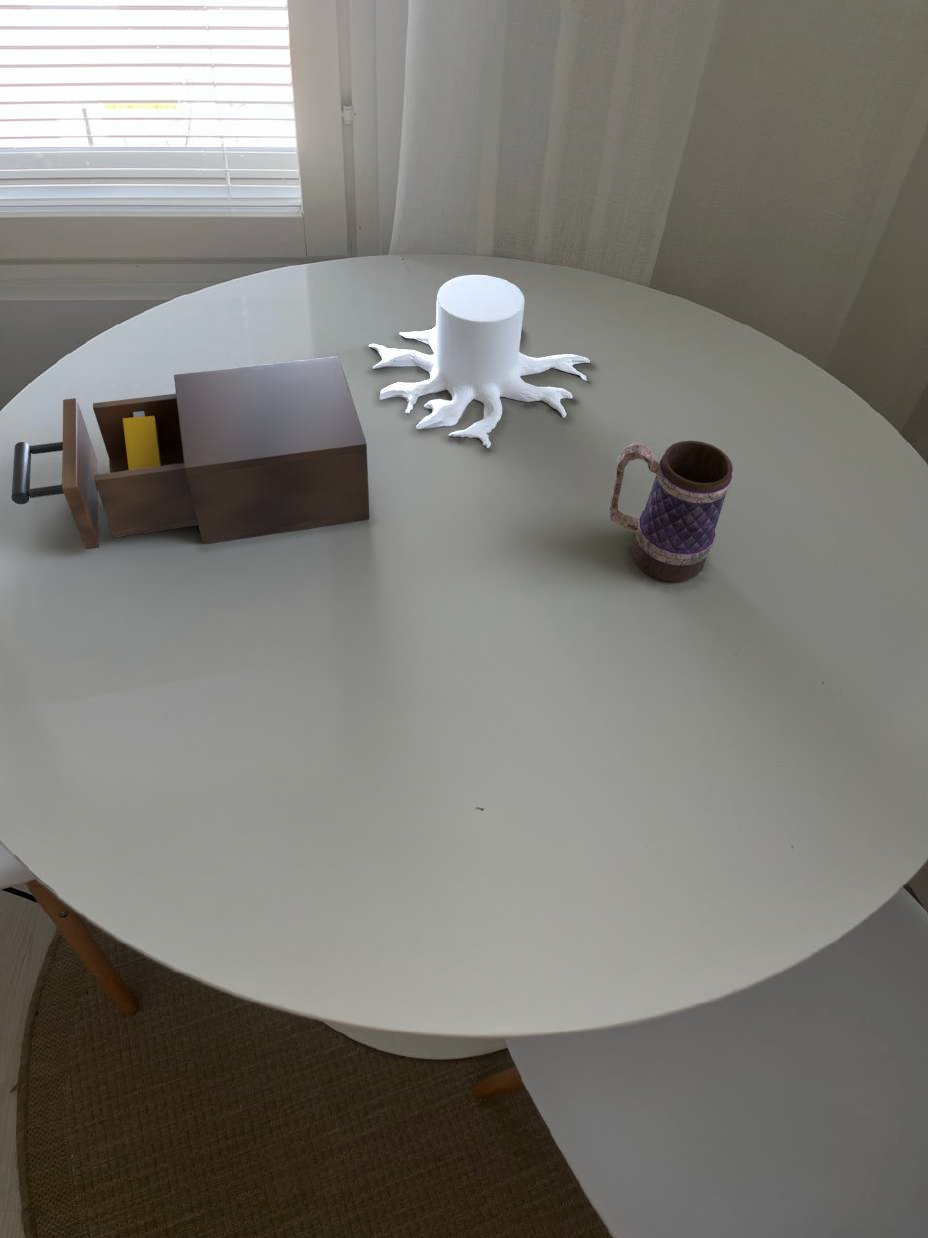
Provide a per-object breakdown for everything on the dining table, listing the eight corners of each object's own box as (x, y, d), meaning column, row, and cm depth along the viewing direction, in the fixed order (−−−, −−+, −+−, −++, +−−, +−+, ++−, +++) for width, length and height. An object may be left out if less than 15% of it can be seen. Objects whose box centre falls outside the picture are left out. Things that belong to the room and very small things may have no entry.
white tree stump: (336, 353, 104) (330, 278, 97) (512, 297, 114) (519, 225, 107) (442, 466, 93) (445, 389, 86) (628, 393, 102) (645, 318, 95)
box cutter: (167, 503, 84) (164, 493, 82) (135, 506, 84) (131, 496, 81) (156, 418, 86) (153, 405, 84) (125, 420, 86) (121, 408, 83)
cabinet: (203, 544, 84) (184, 468, 77) (191, 450, 92) (173, 374, 85) (369, 519, 87) (366, 444, 80) (343, 431, 96) (338, 355, 89)
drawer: (27, 558, 81) (-1, 497, 75) (31, 467, 88) (6, 405, 83) (249, 525, 85) (238, 465, 79) (234, 441, 92) (223, 380, 87)
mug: (709, 541, 88) (745, 443, 78) (699, 593, 83) (735, 495, 74) (606, 515, 89) (629, 416, 80) (590, 564, 85) (613, 465, 76)
